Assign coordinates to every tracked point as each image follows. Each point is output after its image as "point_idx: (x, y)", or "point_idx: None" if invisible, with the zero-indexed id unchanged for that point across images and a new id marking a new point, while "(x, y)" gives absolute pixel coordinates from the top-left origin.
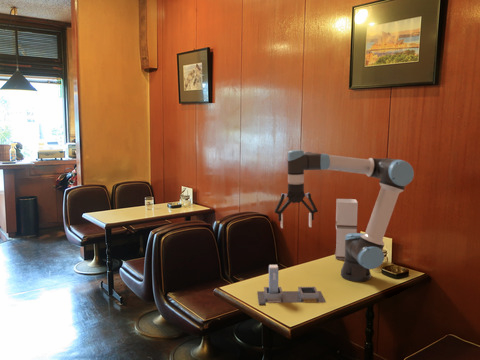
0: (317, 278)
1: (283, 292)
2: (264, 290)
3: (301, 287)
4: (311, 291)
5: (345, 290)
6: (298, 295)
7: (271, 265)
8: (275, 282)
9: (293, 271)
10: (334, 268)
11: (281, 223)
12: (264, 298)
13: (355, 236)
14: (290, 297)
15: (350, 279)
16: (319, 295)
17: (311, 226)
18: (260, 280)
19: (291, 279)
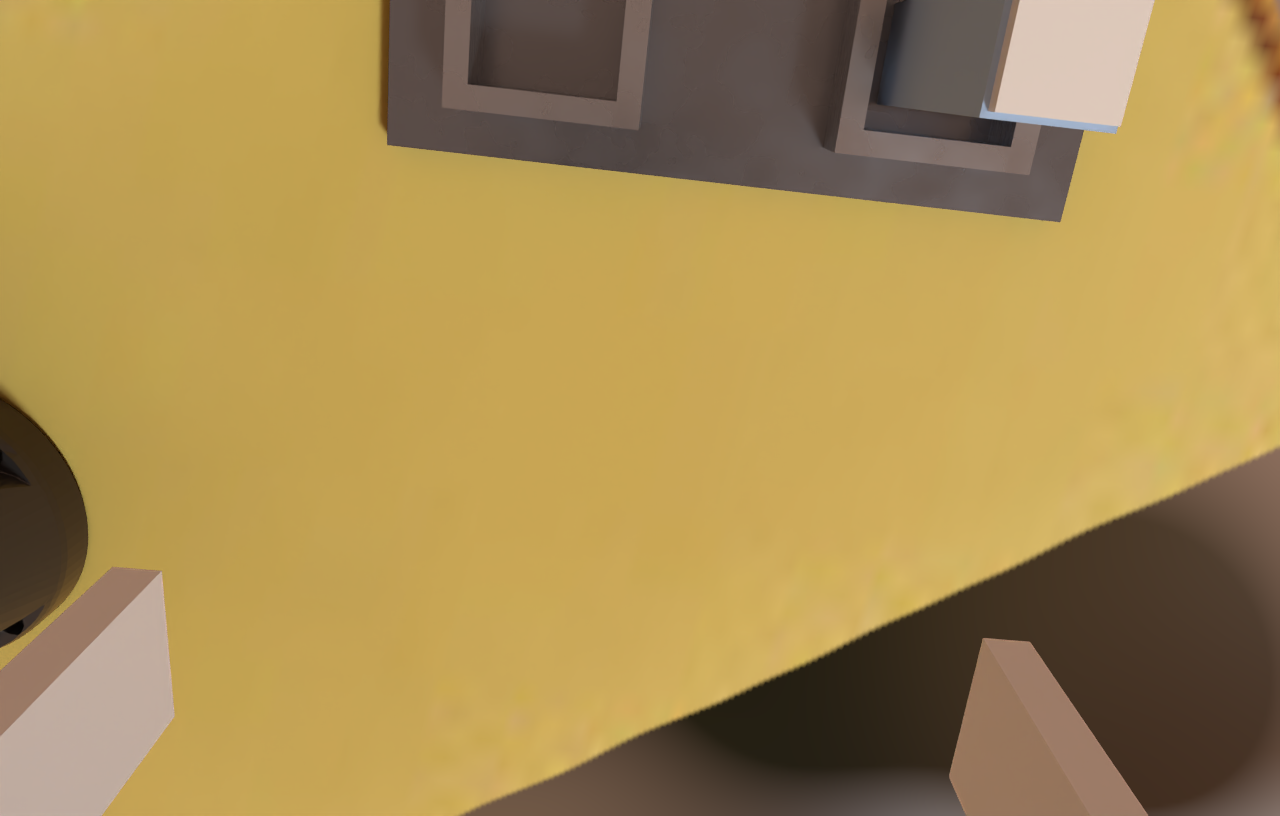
0: (340, 505)
1: (792, 159)
2: None
3: (605, 107)
4: (497, 86)
5: (116, 179)
6: (653, 58)
7: (1098, 87)
8: None
9: (540, 694)
10: None
11: (1091, 737)
12: None
13: None
14: (753, 16)
15: (7, 413)
16: (425, 30)
17: (99, 583)
18: (924, 528)
19: (608, 513)
